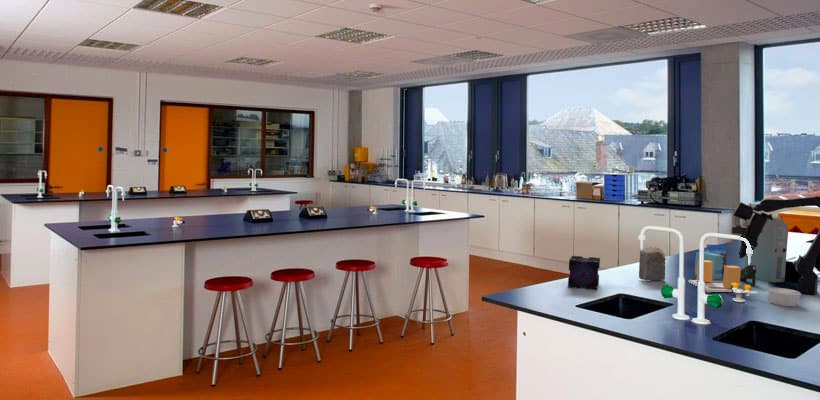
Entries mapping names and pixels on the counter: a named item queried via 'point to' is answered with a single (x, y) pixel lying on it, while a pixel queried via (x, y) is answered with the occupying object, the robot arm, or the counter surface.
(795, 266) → the robot arm
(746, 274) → the gun
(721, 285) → the dip bank
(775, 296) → the ramekin
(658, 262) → the geological specimen
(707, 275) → the tab
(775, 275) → the device
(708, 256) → the data package
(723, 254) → the label tape box
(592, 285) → the energy cube
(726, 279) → the orange rectangular block
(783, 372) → the counter surface
